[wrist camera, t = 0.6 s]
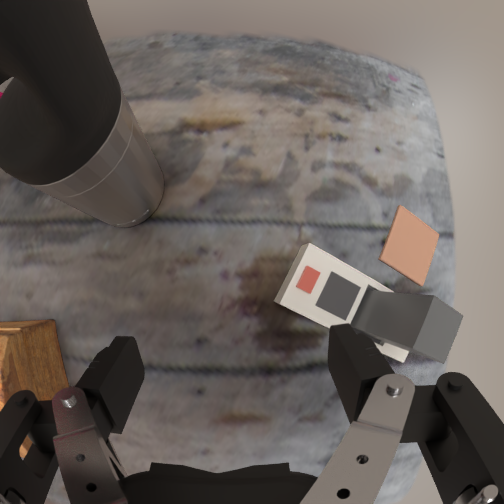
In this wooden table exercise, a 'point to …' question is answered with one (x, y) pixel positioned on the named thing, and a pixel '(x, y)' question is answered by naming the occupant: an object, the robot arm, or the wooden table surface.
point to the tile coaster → (409, 246)
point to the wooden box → (30, 362)
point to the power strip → (329, 292)
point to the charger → (409, 322)
